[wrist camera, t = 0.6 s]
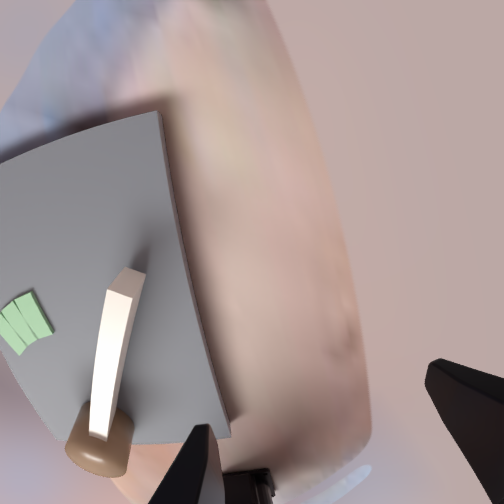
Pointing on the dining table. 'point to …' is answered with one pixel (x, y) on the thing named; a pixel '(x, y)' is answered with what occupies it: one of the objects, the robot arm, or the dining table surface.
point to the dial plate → (102, 281)
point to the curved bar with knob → (108, 386)
